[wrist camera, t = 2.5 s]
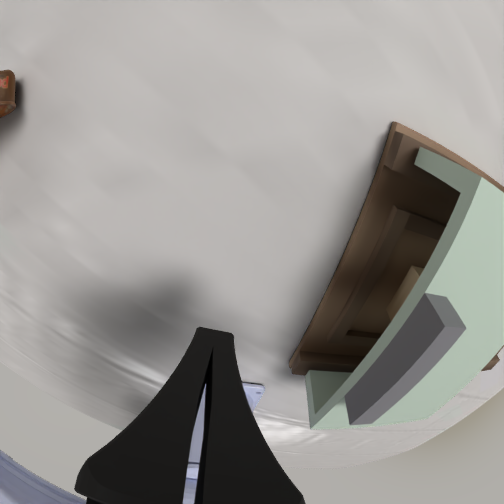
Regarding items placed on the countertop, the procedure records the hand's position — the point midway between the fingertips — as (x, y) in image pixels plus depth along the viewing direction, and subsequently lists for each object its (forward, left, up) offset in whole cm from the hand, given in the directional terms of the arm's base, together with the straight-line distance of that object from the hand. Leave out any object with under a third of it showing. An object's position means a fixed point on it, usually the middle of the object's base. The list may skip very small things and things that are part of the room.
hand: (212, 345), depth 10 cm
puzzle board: (0, -22, -7) cm, 23 cm away
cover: (0, -14, -5) cm, 15 cm away
